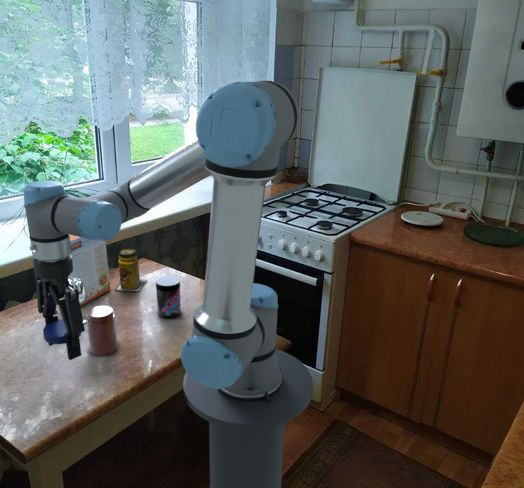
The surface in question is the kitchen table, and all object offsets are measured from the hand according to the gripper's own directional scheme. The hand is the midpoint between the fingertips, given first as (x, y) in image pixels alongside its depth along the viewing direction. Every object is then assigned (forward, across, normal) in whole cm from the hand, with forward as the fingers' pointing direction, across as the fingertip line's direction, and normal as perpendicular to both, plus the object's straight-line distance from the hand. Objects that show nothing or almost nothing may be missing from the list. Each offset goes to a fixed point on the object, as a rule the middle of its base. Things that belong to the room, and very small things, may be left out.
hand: (64, 349), depth 111 cm
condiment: (+7, -29, +39) cm, 49 cm away
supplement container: (+7, -6, +35) cm, 36 cm away
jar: (+7, -4, +12) cm, 14 cm away
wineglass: (+7, -21, +15) cm, 27 cm away
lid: (-5, 0, 0) cm, 5 cm away
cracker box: (+7, -32, +25) cm, 41 cm away
